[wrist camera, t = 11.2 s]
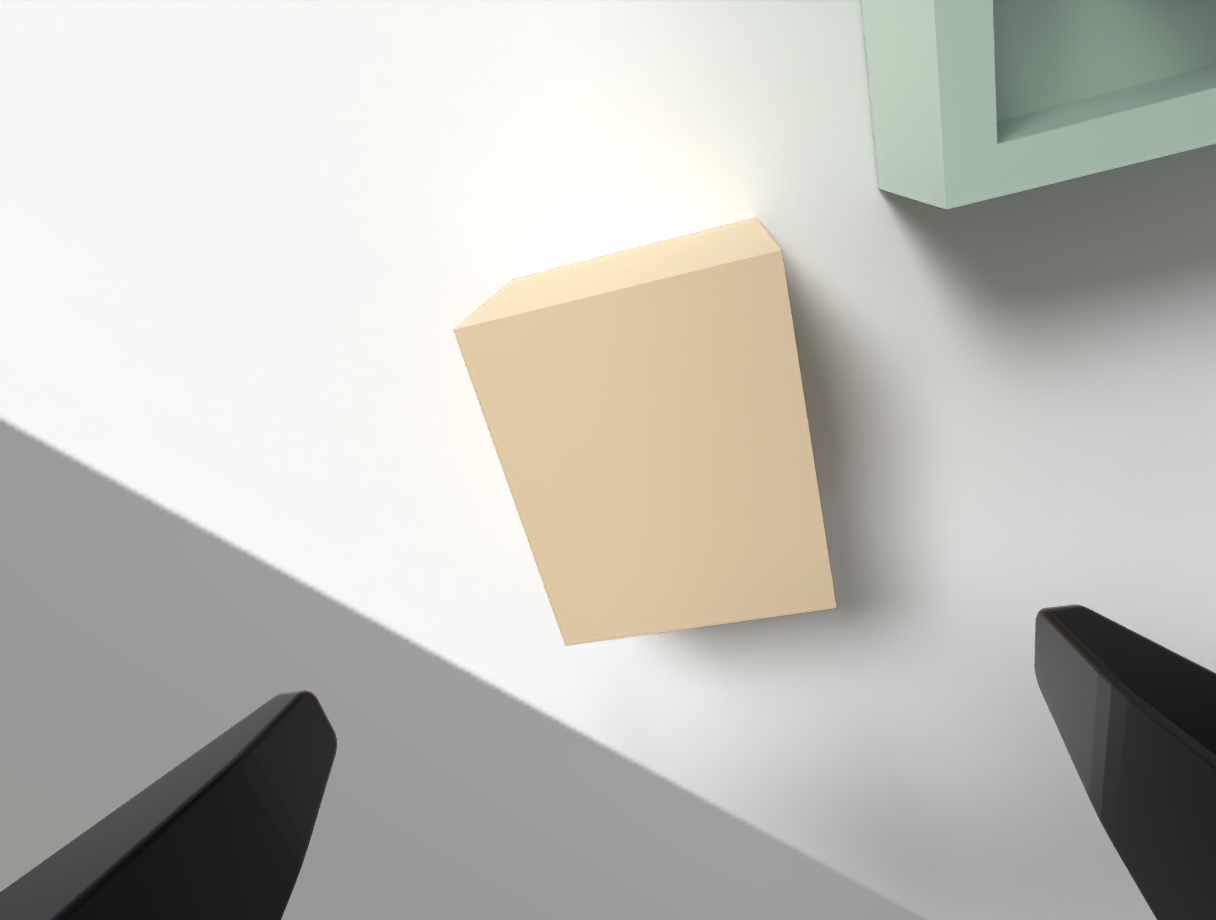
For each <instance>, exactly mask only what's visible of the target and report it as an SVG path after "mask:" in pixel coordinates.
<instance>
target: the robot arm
mask: <svg viewBox="0 0 1216 920" xmlns="http://www.w3.org/2000/svg"><path fill="white" fill-rule="evenodd" d="M1035 673H1036V678H1037V681H1038V685H1039V687H1040V690H1041V692H1042V694H1043V697H1044V699H1045V701H1046V703H1047V705H1048V708H1049V710H1050V712H1051V714H1052V716H1053V719H1054V721H1055V723H1056V725H1057V728H1058V730H1059V732H1060V734H1061V736H1062V739H1063V741H1064V743H1065V745H1066V748H1067V750H1068V752H1069V754H1070V756H1071V759H1072V761H1073V763H1074V765H1075V768H1076V770H1077V772H1078V774H1079V776H1080V779H1081V781H1082V783H1083V785H1084V788H1085V790H1086V792H1087V794H1088V796H1089V799H1090V801H1091V803H1092V805H1093V807H1094V809H1095V811H1096V813H1097V815H1098V817H1099V820H1100V822H1101V823H1102V825H1103V827H1104V829H1105V831H1106V832H1107V834H1108V836H1109V838H1110V840H1111V842H1112V843H1113V845H1114V847H1115V849H1116V850H1117V852H1118V854H1119V855H1120V857H1121V859H1122V861H1123V862H1124V864H1125V866H1126V867H1127V869H1128V871H1129V872H1130V874H1131V876H1132V878H1133V879H1134V881H1135V883H1136V884H1137V886H1138V888H1139V890H1140V891H1141V893H1142V895H1143V896H1144V898H1145V900H1146V902H1147V903H1148V905H1149V907H1150V908H1151V910H1152V912H1153V913H1154V915H1155V917H1156V919H1157V920H1216V673H1214V672H1212V671H1210V670H1208V669H1206V668H1204V667H1202V666H1200V665H1199V664H1197V663H1195V662H1193V661H1191V660H1189V659H1187V658H1185V657H1183V656H1181V655H1179V654H1177V653H1175V652H1173V651H1171V650H1169V649H1167V648H1165V647H1163V646H1161V645H1159V644H1157V643H1155V642H1153V641H1151V640H1149V639H1147V638H1145V637H1144V636H1142V635H1140V634H1138V633H1136V632H1134V631H1132V630H1130V629H1128V628H1126V627H1124V626H1122V625H1120V624H1118V623H1116V622H1114V621H1112V620H1110V619H1108V618H1106V617H1104V616H1102V615H1100V614H1098V613H1096V612H1094V611H1092V610H1090V609H1089V608H1086V607H1084V606H1081V605H1067V606H1058V607H1049V608H1044V609H1042V610H1040V611H1039V612H1038V614H1037V617H1036V630H1035ZM336 748H337V738H336V734H335V732H334V729H333V727H332V726H331V724H330V722H329V720H328V718H327V716H326V714H325V712H324V710H323V708H322V706H321V704H320V703H319V701H318V699H317V697H316V696H315V695H314V694H313V693H312V692H310V691H307V690H300V691H291V692H285V693H280V694H278V695H276V696H275V697H273V698H272V699H271V700H269V701H268V702H266V703H265V704H264V705H262V706H261V707H260V708H258V709H257V710H255V711H254V712H252V713H251V714H250V715H248V716H247V717H245V718H244V719H243V720H241V721H240V722H238V723H237V724H235V725H234V726H233V727H231V728H230V729H228V730H227V731H226V732H224V733H223V734H221V735H220V736H219V737H217V738H216V739H214V740H213V741H212V742H210V743H209V744H208V745H206V746H205V747H203V748H202V749H200V750H199V751H198V752H196V753H195V754H193V755H192V756H191V757H189V758H188V759H187V760H185V761H184V762H182V763H181V764H180V765H178V766H177V767H175V768H174V769H173V770H171V771H170V772H168V773H167V774H166V775H164V776H163V777H161V778H160V779H159V780H157V781H156V782H154V783H153V784H152V785H150V786H149V787H147V788H146V789H144V790H143V791H142V792H140V793H139V794H137V795H136V796H135V797H133V798H132V799H130V800H129V801H128V802H126V803H125V804H123V805H122V806H121V807H119V808H118V809H116V810H115V811H114V812H112V813H111V814H109V815H108V816H106V817H105V818H104V819H102V820H101V821H100V822H98V823H97V824H95V825H94V826H93V827H91V828H90V829H88V830H87V831H86V832H84V833H83V834H81V835H80V836H78V837H77V838H76V839H74V840H73V841H71V842H70V843H69V844H67V845H66V846H64V847H63V848H62V849H60V850H59V851H57V852H56V853H55V854H53V855H52V856H50V857H49V858H48V859H46V860H45V861H43V862H42V863H41V864H39V865H38V866H37V867H35V868H34V869H32V870H31V871H29V872H28V873H27V874H25V875H24V876H23V877H21V878H20V879H18V880H17V881H16V882H14V883H13V884H11V885H10V886H8V887H7V888H6V889H4V890H3V891H1V892H0V920H281V918H282V916H283V913H284V911H285V909H286V906H287V903H288V901H289V898H290V896H291V893H292V891H293V888H294V886H295V883H296V880H297V878H298V875H299V872H300V870H301V867H302V863H303V861H304V858H305V855H306V851H307V848H308V845H309V842H310V839H311V835H312V832H313V828H314V825H315V822H316V818H317V815H318V812H319V808H320V805H321V802H322V798H323V795H324V792H325V788H326V785H327V781H328V778H329V775H330V771H331V768H332V765H333V761H334V758H335V755H336Z"/></svg>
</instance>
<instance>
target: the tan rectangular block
mask: <svg viewBox="0 0 1216 920" xmlns="http://www.w3.org/2000/svg"><path fill="white" fill-rule="evenodd" d="M454 333H455V336H456V339H457V342H458V344H459V347H460V350H461V353H462V356H463V359H464V361H465V364H466V367H467V370H468V373H469V375H470V378H471V381H472V384H473V387H474V390H475V392H476V395H477V398H478V401H479V404H480V406H481V409H482V412H483V415H484V418H485V421H486V423H487V426H488V429H489V432H490V435H491V438H492V440H493V443H494V446H495V449H496V452H497V454H498V457H499V460H500V463H501V466H502V469H503V471H504V474H505V477H506V480H507V483H508V485H509V488H510V491H511V494H512V497H513V500H514V502H515V505H516V508H517V511H518V514H519V517H520V519H521V522H522V525H523V528H524V531H525V533H526V536H527V539H528V542H529V545H530V548H531V550H532V553H533V556H534V559H535V562H536V564H537V567H538V570H539V573H540V576H541V579H542V581H543V584H544V587H545V590H546V593H547V596H548V598H549V601H550V604H551V607H552V610H553V612H554V615H555V618H556V621H557V624H558V627H559V629H560V632H561V635H562V638H563V641H564V643H565V646H569V645H576V644H583V643H590V642H597V641H604V640H612V639H619V638H626V637H633V636H640V635H647V634H655V633H662V632H669V631H676V630H683V629H690V628H698V627H705V626H712V625H719V624H726V623H733V622H740V621H748V620H755V619H762V618H769V617H776V616H783V615H791V614H798V613H805V612H812V611H819V610H826V609H834V608H837V607H836V601H835V594H834V588H833V581H832V575H831V568H830V562H829V555H828V549H827V542H826V536H825V529H824V523H823V516H822V510H821V503H820V496H819V490H818V483H817V477H816V470H815V464H814V457H813V451H812V444H811V438H810V431H809V425H808V418H807V412H806V405H805V399H804V392H803V386H802V379H801V373H800V366H799V360H798V353H797V346H796V340H795V333H794V327H793V320H792V314H791V307H790V301H789V294H788V288H787V281H786V275H785V268H784V262H783V255H782V250H781V248H780V247H779V246H778V245H777V243H776V242H775V241H774V239H773V238H772V237H771V236H770V234H769V233H768V232H767V231H766V229H765V228H764V227H763V226H762V224H761V223H760V222H759V221H758V219H757V218H752V219H748V220H744V221H740V222H736V223H732V224H728V225H724V226H720V227H716V228H712V229H708V230H705V231H701V232H697V233H693V234H689V235H685V236H681V237H677V238H673V239H669V240H665V241H661V242H657V243H653V244H650V245H646V246H642V247H638V248H634V249H630V250H626V251H622V252H618V253H614V254H610V255H606V256H602V257H598V258H595V259H591V260H587V261H583V262H579V263H575V264H571V265H567V266H563V267H559V268H555V269H551V270H547V271H544V272H540V273H536V274H532V275H528V276H524V277H520V278H516V279H513V280H511V281H510V282H509V283H508V284H507V285H505V286H504V287H503V288H502V289H501V290H500V291H498V292H497V293H496V294H495V295H494V296H493V297H491V298H490V299H489V300H488V301H487V302H485V303H484V304H483V305H482V306H481V307H480V308H478V309H477V310H476V311H475V312H474V313H473V314H471V315H470V316H469V317H468V318H467V319H465V320H464V321H463V322H462V323H461V324H460V325H458V326H457V327H456V328H455V329H454Z"/></svg>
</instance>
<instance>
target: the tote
mask: <svg viewBox="0 0 1216 920" xmlns="http://www.w3.org/2000/svg"><path fill="white" fill-rule="evenodd" d="M860 1H861V12H862V22H863V33H864V43H865V54H866V64H867V74H868V85H869V95H870V106H871V116H872V126H873V137H874V147H875V158H876V168H877V178H878V189H881V190H884V191H888V192H891V193H894V194H897V195H900V196H904V197H907V198H910V199H913V200H917V201H920V202H923V203H926V204H930V205H933V206H936V207H939V208H943V209H946V210H947V209H951V208H955V207H959V206H963V205H968V204H972V203H976V202H980V201H984V200H988V199H992V198H996V197H1000V196H1004V195H1009V194H1013V193H1017V192H1021V191H1025V190H1029V189H1033V188H1037V187H1041V186H1045V185H1049V184H1054V183H1058V182H1062V181H1066V180H1070V179H1074V178H1078V177H1082V176H1086V175H1090V174H1094V173H1099V172H1103V171H1107V170H1111V169H1115V168H1119V167H1123V166H1127V165H1131V164H1135V163H1139V162H1144V161H1148V160H1152V159H1156V158H1160V157H1164V156H1168V155H1172V154H1176V153H1180V152H1185V151H1189V150H1193V149H1197V148H1201V147H1205V146H1209V145H1213V144H1216V0H860Z"/></svg>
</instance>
